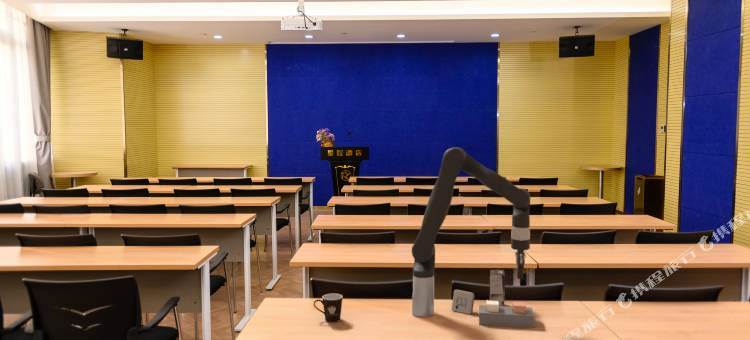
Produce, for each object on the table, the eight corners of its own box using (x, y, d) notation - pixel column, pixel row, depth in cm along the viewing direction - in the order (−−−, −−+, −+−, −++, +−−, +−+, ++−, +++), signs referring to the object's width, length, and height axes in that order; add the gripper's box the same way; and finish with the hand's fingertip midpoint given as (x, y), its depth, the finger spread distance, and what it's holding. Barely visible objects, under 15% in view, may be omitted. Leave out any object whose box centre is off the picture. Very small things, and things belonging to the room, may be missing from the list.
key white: (486, 315, 235) (486, 304, 235) (486, 311, 240) (486, 300, 240) (498, 316, 234) (498, 304, 234) (498, 312, 239) (498, 300, 239)
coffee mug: (346, 317, 243) (346, 295, 242) (336, 324, 235) (336, 301, 234) (322, 313, 248) (322, 291, 247) (312, 320, 240) (312, 297, 239)
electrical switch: (451, 310, 250) (452, 290, 250) (456, 308, 255) (457, 288, 254) (470, 315, 245) (471, 294, 245) (475, 313, 249) (476, 292, 249)
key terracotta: (513, 317, 233) (513, 305, 233) (512, 313, 238) (513, 301, 238) (526, 318, 232) (526, 306, 232) (525, 313, 237) (525, 302, 237)
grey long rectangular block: (479, 324, 234) (479, 312, 233) (479, 316, 243) (479, 304, 243) (533, 327, 230) (534, 315, 229) (531, 319, 239) (531, 307, 239)
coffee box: (504, 310, 250) (505, 275, 248) (489, 309, 251) (490, 274, 250) (504, 303, 259) (504, 269, 257) (489, 303, 260) (490, 268, 259)
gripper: (510, 233, 239) (509, 273, 241) (512, 240, 226) (511, 282, 228) (528, 234, 238) (527, 274, 239) (531, 241, 225) (530, 283, 227)
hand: (519, 278), depth 234 cm, fingers closed
